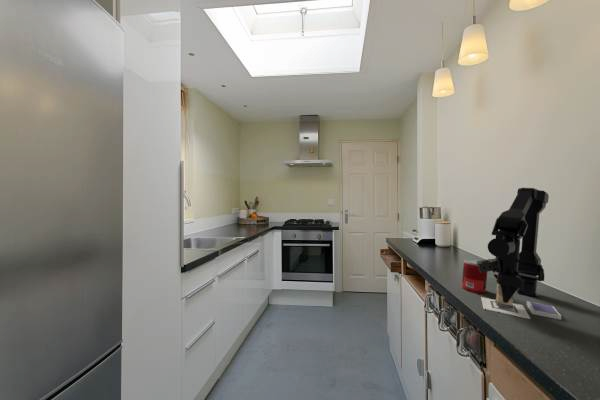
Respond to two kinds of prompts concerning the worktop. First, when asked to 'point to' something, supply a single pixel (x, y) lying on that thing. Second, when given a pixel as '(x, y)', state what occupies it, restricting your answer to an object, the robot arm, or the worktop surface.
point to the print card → (504, 308)
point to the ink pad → (543, 310)
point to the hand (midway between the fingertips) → (504, 300)
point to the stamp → (500, 299)
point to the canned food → (473, 277)
